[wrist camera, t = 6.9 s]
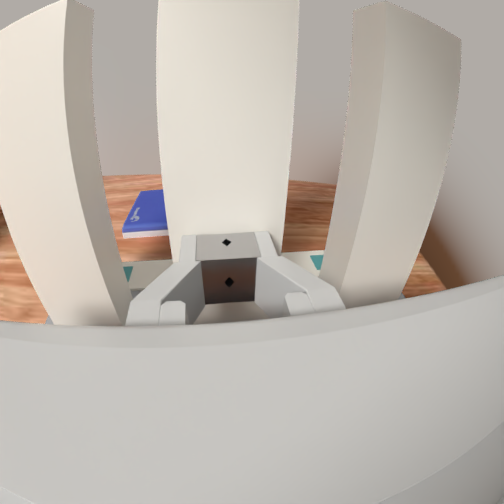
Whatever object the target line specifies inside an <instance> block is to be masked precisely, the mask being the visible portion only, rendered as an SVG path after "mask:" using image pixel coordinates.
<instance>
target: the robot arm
mask: <svg viewBox="0 0 504 504" xmlns="http://www.w3.org/2000/svg"><path fill="white" fill-rule="evenodd" d="M251 301H255V303H256V304H257V305H258V306H259V307H260V308H261V309H262V310H263V311H264V312H265V313H266V314H267V315H268V316H269V317H270V318H271V319H261V320H250V321H238V322H224V323H209V324H194V322H195V321H196V319H197V318H198V316H199V315H200V313H201V312H202V310H203V309H204V307H205V305H209V304H220V303H231V302H251ZM0 504H504V275H501V276H498V277H494V278H491V279H487V280H483V281H480V282H476V283H472V284H468V285H464V286H460V287H456V288H452V289H448V290H443V291H439V292H435V293H430V294H425V295H421V296H416V297H411V298H406V299H401V300H395V301H390V302H385V303H379V304H373V305H367V306H361V307H355V308H349V309H346V307H345V305H344V304H343V302H342V300H341V298H340V296H339V294H338V292H337V290H336V288H335V287H333V286H332V285H330V284H328V283H327V282H325V281H323V280H322V279H320V278H318V277H317V276H315V275H313V274H312V273H310V272H308V271H307V270H305V269H303V268H302V267H300V266H298V265H297V264H295V263H293V262H292V261H290V260H288V259H286V258H285V257H283V256H278V254H277V252H276V249H275V247H274V244H273V242H272V239H271V237H270V234H269V232H268V231H257V232H243V233H230V234H199V235H196V234H195V235H183V236H182V237H181V245H180V254H179V262H175V263H173V264H172V265H171V266H170V267H169V268H168V269H166V270H165V271H164V272H163V273H162V274H161V275H160V276H158V277H157V278H156V279H155V280H154V281H153V282H152V283H151V284H149V285H148V286H147V287H146V288H145V289H144V290H143V291H142V292H140V293H139V294H138V295H137V296H136V297H135V298H134V299H133V300H132V301H131V302H130V306H129V310H128V315H127V319H126V324H125V326H76V325H54V324H38V323H25V322H13V321H3V320H0Z"/></svg>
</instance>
